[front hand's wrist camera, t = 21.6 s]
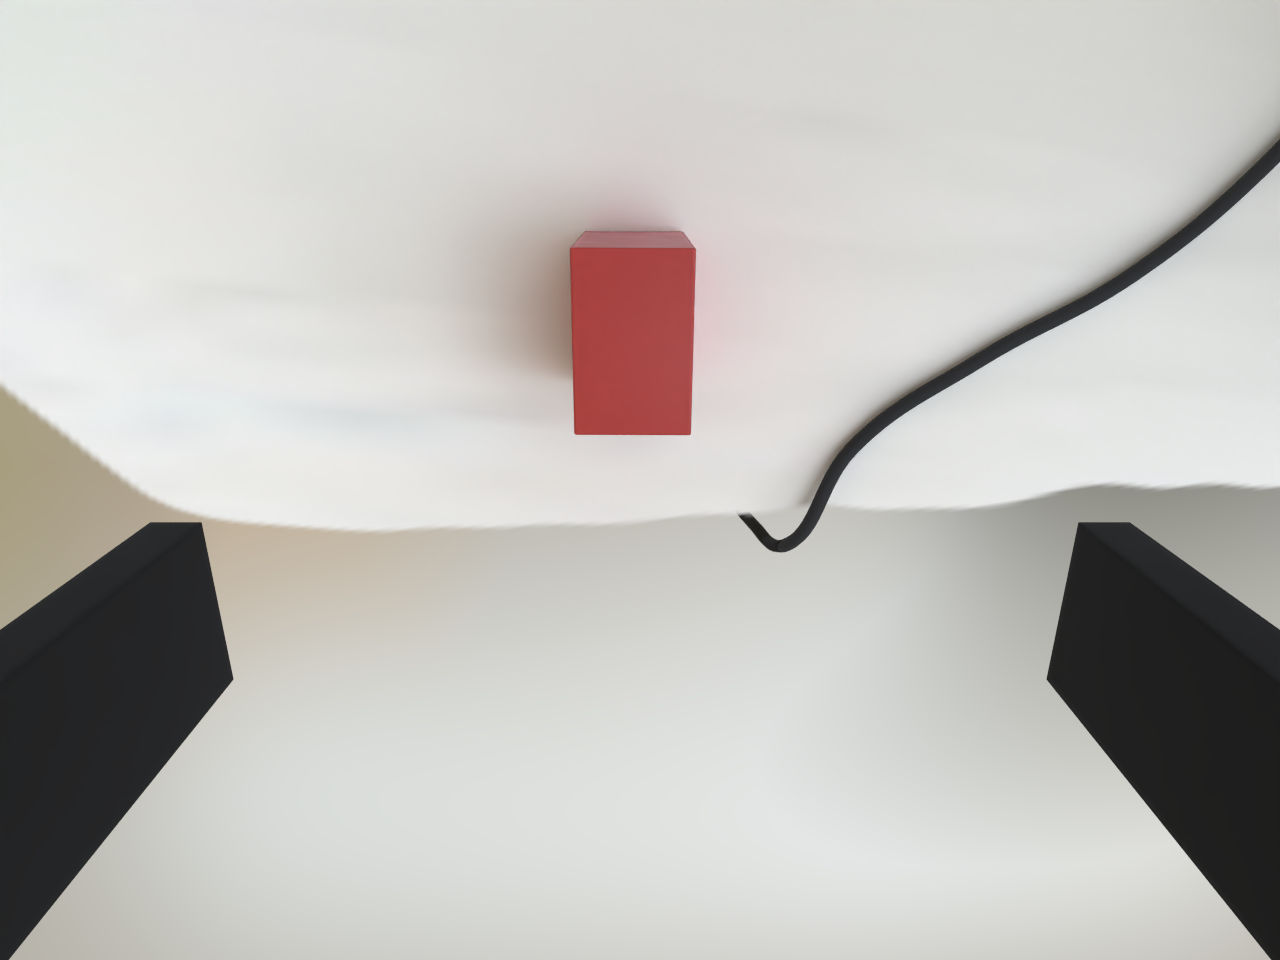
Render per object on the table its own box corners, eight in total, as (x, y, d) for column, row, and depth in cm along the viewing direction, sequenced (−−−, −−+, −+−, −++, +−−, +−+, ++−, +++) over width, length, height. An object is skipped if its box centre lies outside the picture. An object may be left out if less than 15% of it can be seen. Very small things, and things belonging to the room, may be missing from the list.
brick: (683, 231, 41) (696, 247, 32) (680, 382, 43) (690, 435, 35) (584, 231, 41) (569, 247, 32) (587, 382, 43) (574, 435, 35)
